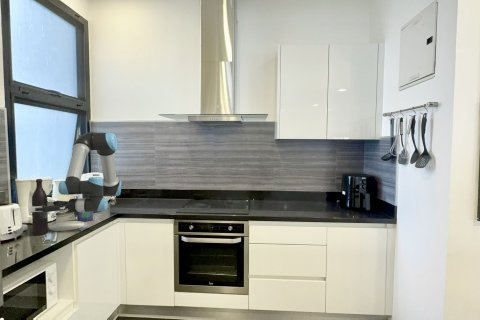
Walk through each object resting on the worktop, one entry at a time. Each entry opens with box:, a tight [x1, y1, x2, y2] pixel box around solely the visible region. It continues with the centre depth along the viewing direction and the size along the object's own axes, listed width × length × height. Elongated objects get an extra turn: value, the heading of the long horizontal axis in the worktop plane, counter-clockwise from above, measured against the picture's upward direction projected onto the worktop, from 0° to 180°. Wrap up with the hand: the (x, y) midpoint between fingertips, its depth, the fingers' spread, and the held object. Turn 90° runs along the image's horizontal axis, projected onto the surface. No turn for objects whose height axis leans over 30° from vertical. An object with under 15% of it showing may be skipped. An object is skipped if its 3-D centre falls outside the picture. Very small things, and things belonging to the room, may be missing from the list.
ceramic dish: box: [48, 220, 85, 232], centre depth 181 cm, size 18×18×1 cm
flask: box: [76, 211, 94, 223], centre depth 194 cm, size 9×3×11 cm, turn 135°
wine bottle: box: [31, 178, 49, 236], centre depth 166 cm, size 7×7×30 cm
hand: (34, 206), depth 166 cm, fingers open, 13 cm apart
